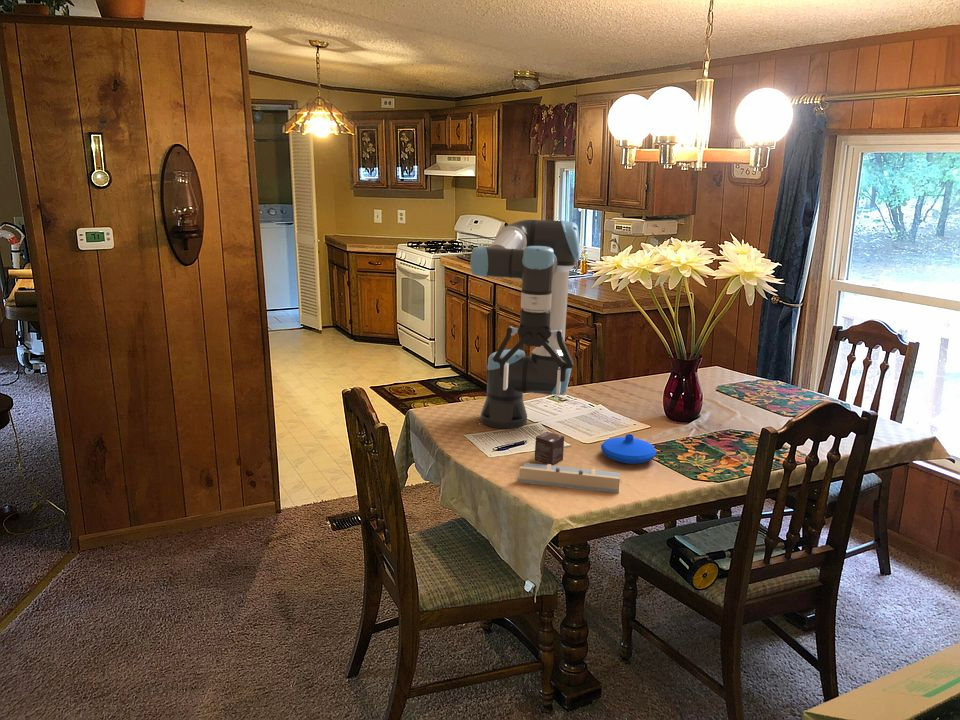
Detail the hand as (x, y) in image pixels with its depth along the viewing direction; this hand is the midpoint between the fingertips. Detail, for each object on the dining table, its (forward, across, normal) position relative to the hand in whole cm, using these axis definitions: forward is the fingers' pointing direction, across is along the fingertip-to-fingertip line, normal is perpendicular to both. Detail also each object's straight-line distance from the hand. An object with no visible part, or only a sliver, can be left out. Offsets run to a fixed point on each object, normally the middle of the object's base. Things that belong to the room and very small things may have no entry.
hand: (531, 391), depth 192 cm
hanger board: (+25, +11, +5) cm, 28 cm away
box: (+26, +4, +16) cm, 31 cm away
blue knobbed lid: (+26, +26, +24) cm, 44 cm away
